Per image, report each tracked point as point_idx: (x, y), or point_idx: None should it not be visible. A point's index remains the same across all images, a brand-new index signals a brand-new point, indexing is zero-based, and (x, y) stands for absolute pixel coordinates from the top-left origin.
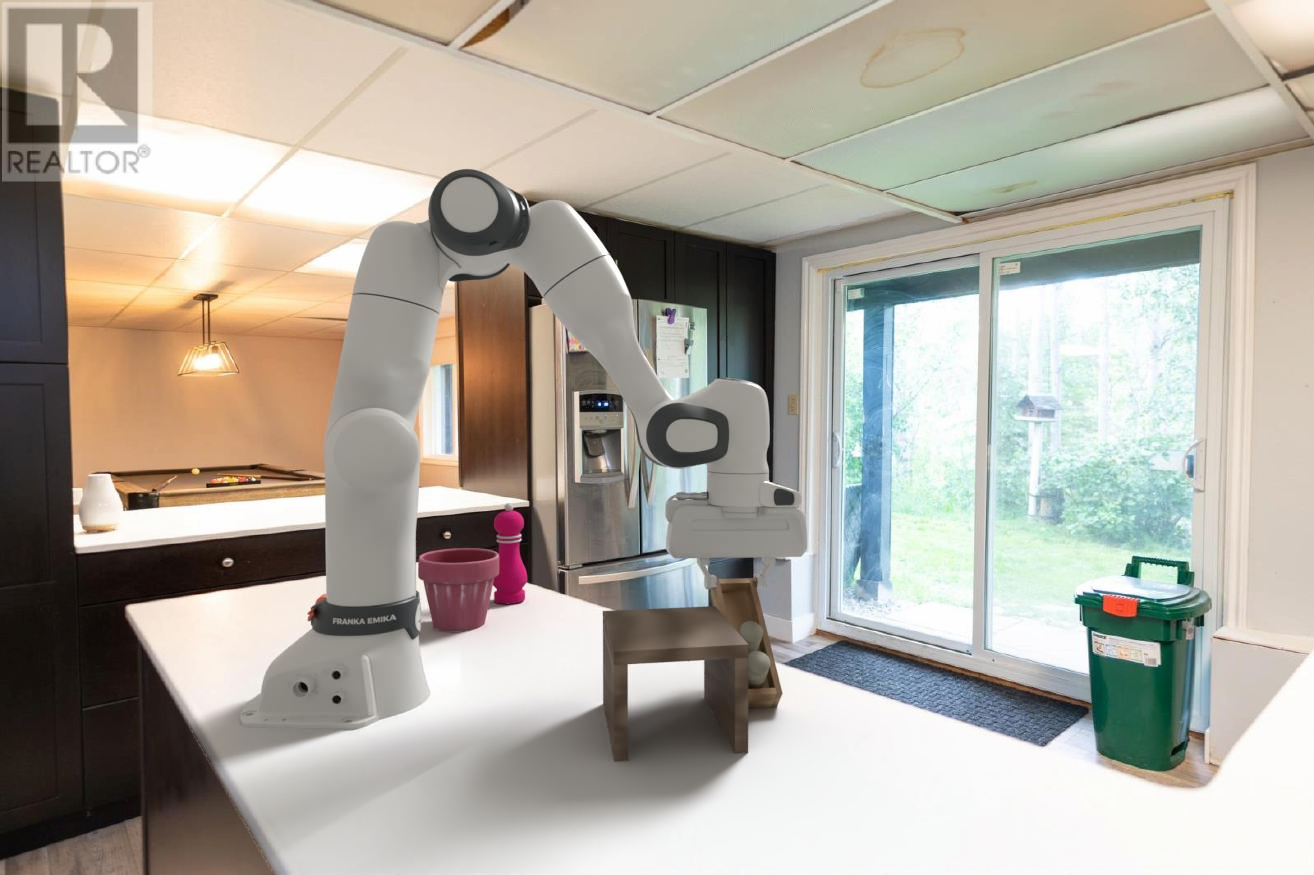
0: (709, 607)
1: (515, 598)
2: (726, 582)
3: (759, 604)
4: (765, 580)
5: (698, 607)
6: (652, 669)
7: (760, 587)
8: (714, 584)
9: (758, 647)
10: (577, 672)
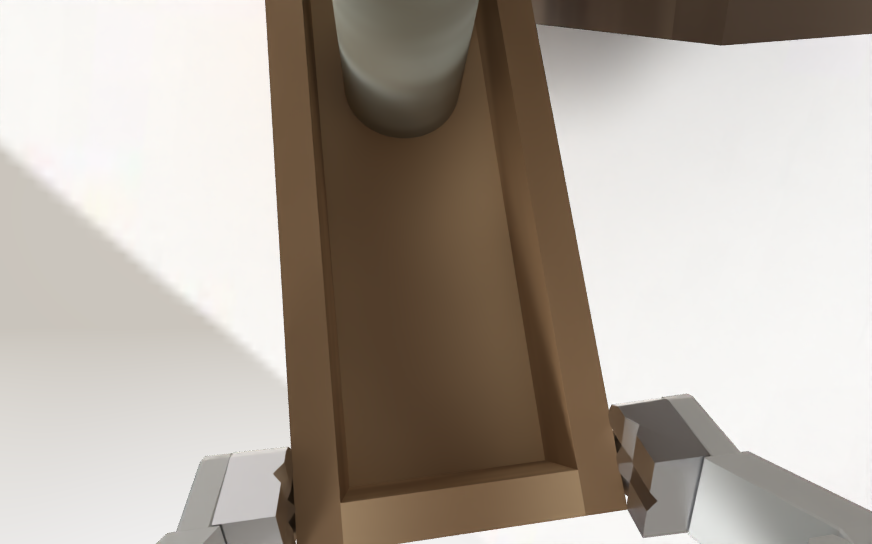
0: (782, 3)
1: None
2: (528, 487)
3: (291, 300)
4: (203, 495)
5: (864, 13)
6: (650, 299)
7: (259, 450)
8: (645, 419)
9: (327, 108)
10: (865, 280)
